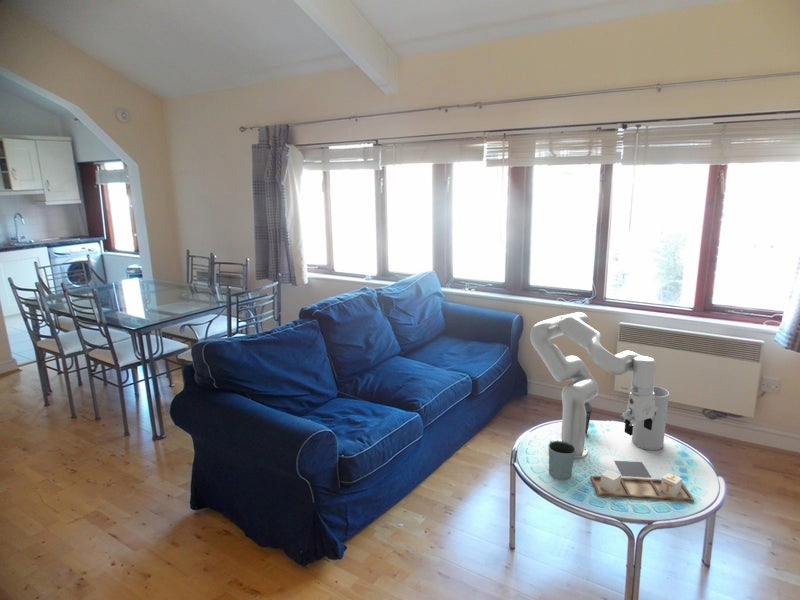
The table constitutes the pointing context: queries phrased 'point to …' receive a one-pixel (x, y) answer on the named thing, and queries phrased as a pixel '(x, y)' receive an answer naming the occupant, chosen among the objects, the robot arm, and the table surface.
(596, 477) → the tray board
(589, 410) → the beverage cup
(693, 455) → the table surface
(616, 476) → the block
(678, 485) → the letter block
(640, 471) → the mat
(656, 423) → the cylinder vase
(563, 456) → the grey green pot
